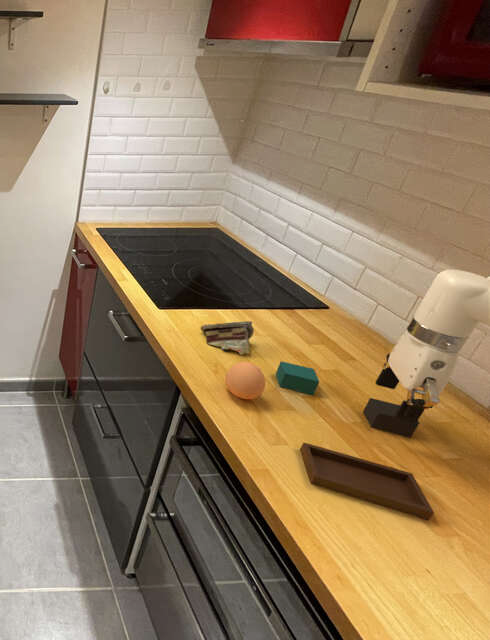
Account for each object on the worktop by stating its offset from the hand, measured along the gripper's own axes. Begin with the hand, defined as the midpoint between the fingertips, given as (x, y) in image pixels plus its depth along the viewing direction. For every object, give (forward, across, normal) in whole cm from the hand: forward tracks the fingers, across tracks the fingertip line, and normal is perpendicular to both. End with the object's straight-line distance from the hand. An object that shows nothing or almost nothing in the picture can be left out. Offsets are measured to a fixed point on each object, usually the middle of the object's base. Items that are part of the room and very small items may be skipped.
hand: (394, 402), depth 90 cm
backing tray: (+6, -19, +9) cm, 22 cm away
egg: (+7, -3, +26) cm, 27 cm away
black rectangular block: (+6, 0, -1) cm, 6 cm away
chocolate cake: (+7, +16, +27) cm, 32 cm away
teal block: (+6, +6, +14) cm, 17 cm away
